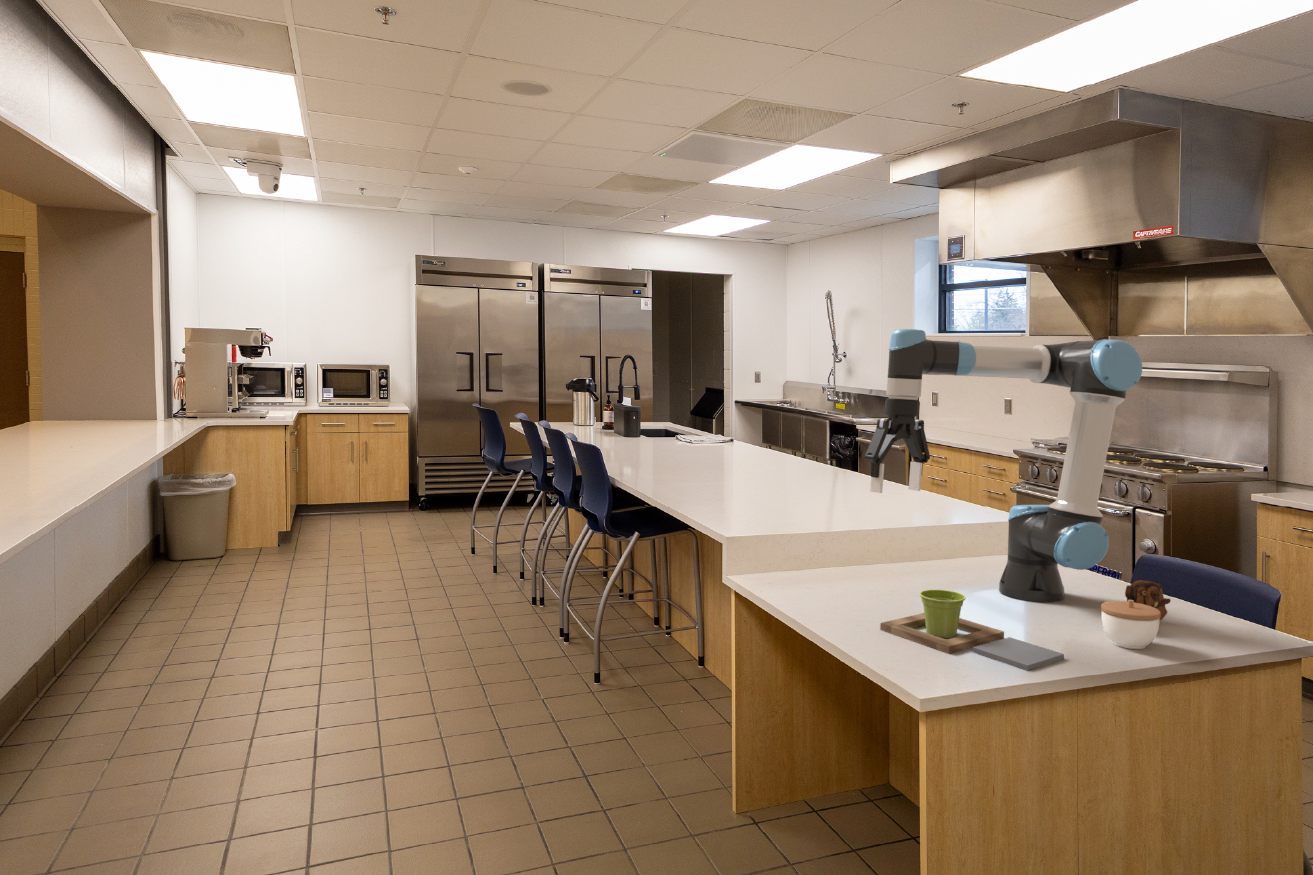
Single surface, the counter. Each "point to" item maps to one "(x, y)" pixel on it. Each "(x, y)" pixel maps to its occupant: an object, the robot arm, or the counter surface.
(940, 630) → the plant pot
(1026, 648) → the charcoal mat
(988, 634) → the walnut frame
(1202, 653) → the counter surface
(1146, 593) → the wooden carving
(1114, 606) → the lidded jar
